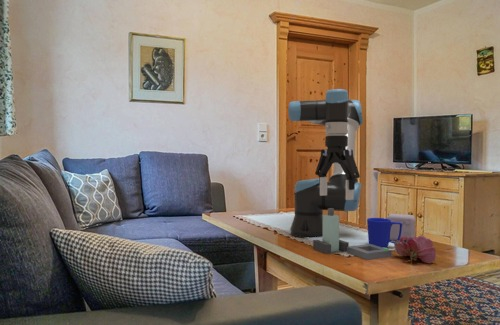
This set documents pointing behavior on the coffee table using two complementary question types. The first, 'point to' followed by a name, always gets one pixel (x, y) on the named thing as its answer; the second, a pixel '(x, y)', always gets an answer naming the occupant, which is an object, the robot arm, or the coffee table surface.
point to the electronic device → (407, 226)
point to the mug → (381, 231)
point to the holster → (329, 246)
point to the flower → (416, 248)
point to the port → (369, 251)
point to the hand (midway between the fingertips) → (335, 197)
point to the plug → (331, 229)
